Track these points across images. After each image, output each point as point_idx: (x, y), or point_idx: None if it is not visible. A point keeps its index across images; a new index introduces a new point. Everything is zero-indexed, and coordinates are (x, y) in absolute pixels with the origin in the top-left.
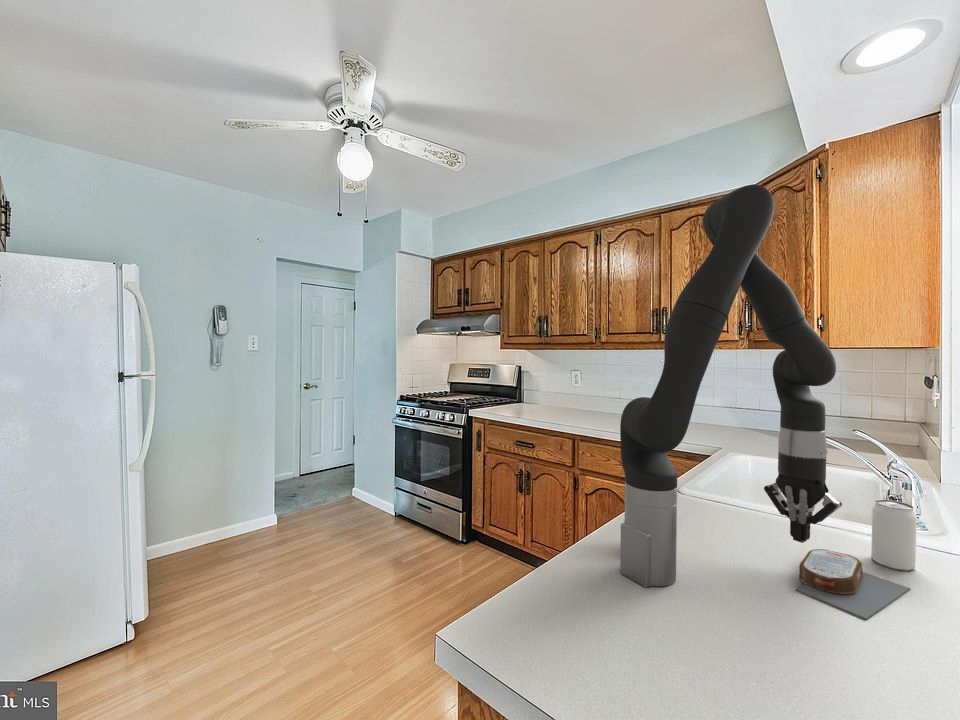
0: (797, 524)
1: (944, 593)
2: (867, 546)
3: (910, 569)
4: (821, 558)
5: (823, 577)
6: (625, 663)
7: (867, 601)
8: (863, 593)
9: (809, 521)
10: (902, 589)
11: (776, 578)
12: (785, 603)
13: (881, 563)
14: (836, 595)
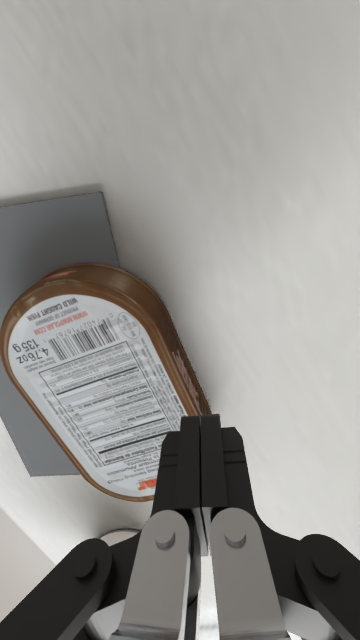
0: (201, 497)
1: (10, 506)
2: (205, 582)
3: None
4: (155, 424)
5: (39, 287)
6: None
7: None
8: None
9: (128, 554)
10: (28, 458)
11: (190, 215)
12: (32, 26)
13: (130, 533)
14: (31, 282)
